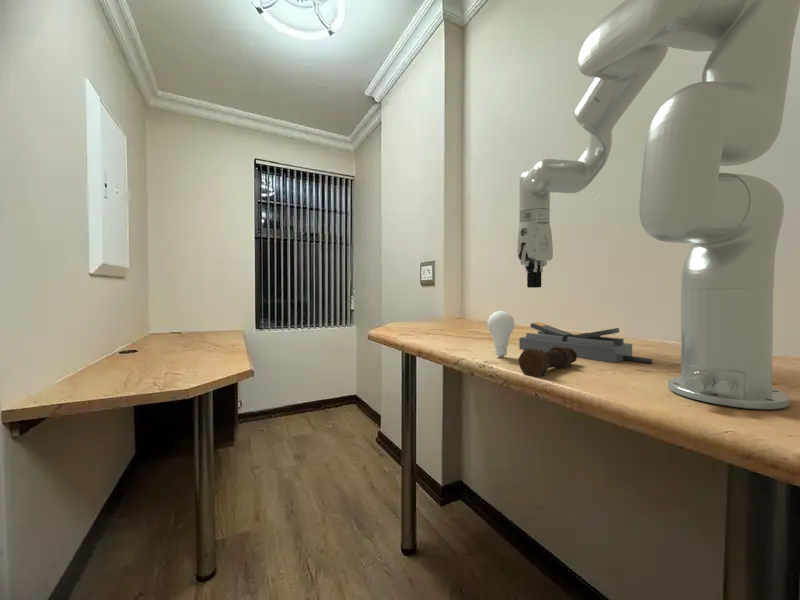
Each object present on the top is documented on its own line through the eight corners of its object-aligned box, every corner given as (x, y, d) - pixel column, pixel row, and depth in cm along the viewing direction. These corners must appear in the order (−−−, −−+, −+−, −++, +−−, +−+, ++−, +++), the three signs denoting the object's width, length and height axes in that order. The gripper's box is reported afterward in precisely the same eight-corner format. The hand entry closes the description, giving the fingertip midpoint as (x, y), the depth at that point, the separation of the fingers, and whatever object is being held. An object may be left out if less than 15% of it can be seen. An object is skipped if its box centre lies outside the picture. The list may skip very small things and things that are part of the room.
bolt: (573, 373, 70) (534, 384, 61) (553, 358, 74) (513, 366, 65) (588, 351, 68) (549, 359, 59) (567, 336, 71) (527, 342, 62)
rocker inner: (612, 335, 73) (610, 328, 73) (572, 341, 80) (570, 335, 80) (620, 333, 75) (618, 327, 76) (580, 339, 82) (578, 333, 83)
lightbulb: (482, 355, 81) (482, 310, 80) (504, 354, 83) (504, 309, 82) (497, 360, 75) (496, 312, 75) (520, 358, 77) (520, 311, 76)
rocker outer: (561, 340, 82) (563, 334, 82) (529, 327, 89) (531, 322, 89) (570, 338, 84) (571, 333, 84) (538, 326, 91) (539, 321, 91)
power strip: (643, 367, 66) (643, 346, 66) (519, 348, 89) (519, 333, 89) (659, 360, 72) (659, 341, 72) (538, 344, 94) (538, 330, 94)
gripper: (531, 213, 82) (531, 288, 82) (562, 219, 90) (562, 286, 91) (505, 218, 88) (505, 288, 89) (537, 223, 96) (536, 286, 97)
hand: (534, 287), depth 90 cm, fingers closed
